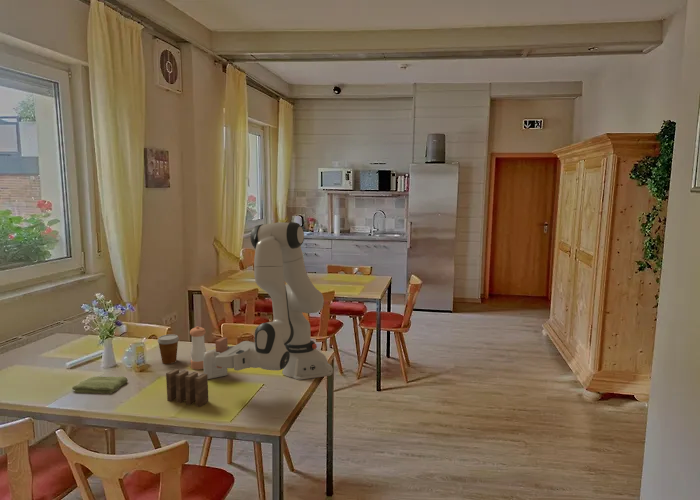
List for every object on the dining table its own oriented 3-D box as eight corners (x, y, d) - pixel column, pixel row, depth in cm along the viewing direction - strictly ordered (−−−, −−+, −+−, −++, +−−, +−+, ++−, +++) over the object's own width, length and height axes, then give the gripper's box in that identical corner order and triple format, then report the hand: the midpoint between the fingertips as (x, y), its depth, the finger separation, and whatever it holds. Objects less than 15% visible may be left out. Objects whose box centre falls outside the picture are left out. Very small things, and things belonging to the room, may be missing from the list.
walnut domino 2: (189, 397, 194) (188, 371, 192) (180, 403, 189) (179, 375, 188) (185, 397, 194) (184, 370, 193) (176, 402, 190) (175, 374, 188)
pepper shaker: (187, 368, 225) (185, 327, 222) (197, 363, 232) (196, 323, 229) (200, 370, 222) (198, 329, 220) (210, 365, 229) (209, 325, 226)
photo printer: (225, 372, 220) (224, 345, 218) (228, 375, 216) (228, 348, 215) (202, 377, 214) (201, 350, 213) (205, 380, 211) (204, 352, 209)
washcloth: (90, 381, 211) (89, 373, 211) (129, 382, 210) (129, 375, 209) (70, 393, 198) (69, 386, 198) (111, 395, 197) (111, 387, 196)
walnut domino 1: (180, 396, 195) (179, 369, 194) (171, 401, 191) (170, 373, 189) (176, 395, 196) (175, 368, 195) (167, 400, 191) (166, 373, 190)
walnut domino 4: (208, 401, 190) (207, 374, 189) (200, 406, 186) (198, 379, 184) (204, 400, 191) (203, 373, 190) (195, 406, 186) (194, 378, 185)
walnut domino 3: (198, 399, 192) (197, 372, 191) (190, 405, 187) (189, 377, 186) (194, 398, 193) (193, 371, 191) (186, 404, 188) (184, 376, 187)
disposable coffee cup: (167, 366, 227) (166, 341, 225) (154, 362, 232) (152, 338, 230) (184, 360, 235) (183, 336, 233) (171, 356, 240) (170, 332, 238)
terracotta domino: (228, 363, 199) (227, 337, 197) (220, 368, 194) (219, 341, 193) (224, 363, 199) (223, 337, 198) (216, 367, 195) (215, 340, 193)
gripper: (263, 339, 200) (234, 335, 205) (234, 356, 182) (203, 351, 187) (264, 354, 201) (235, 350, 206) (235, 372, 182) (204, 367, 187)
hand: (220, 351), depth 196 cm, fingers closed on terracotta domino, 5 cm apart
